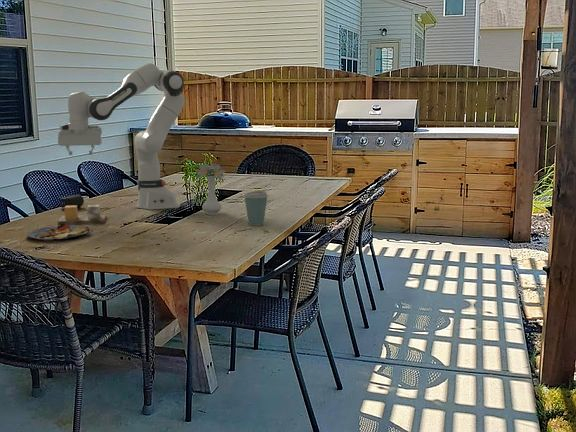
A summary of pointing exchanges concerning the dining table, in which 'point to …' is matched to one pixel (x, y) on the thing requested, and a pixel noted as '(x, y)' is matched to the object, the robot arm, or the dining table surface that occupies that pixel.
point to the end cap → (72, 201)
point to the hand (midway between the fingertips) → (80, 154)
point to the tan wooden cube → (71, 212)
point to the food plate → (58, 232)
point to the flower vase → (211, 187)
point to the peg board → (86, 217)
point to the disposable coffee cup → (256, 207)
